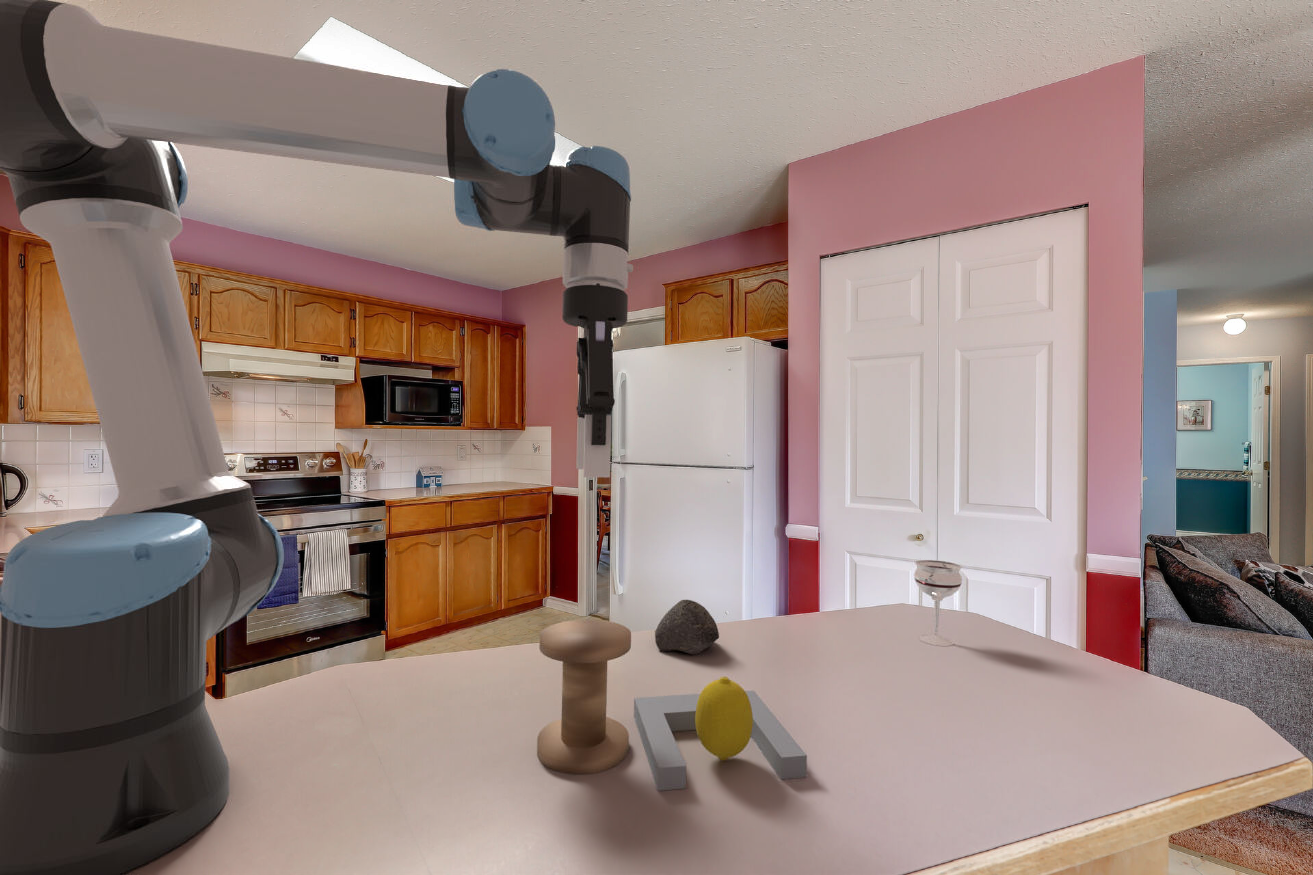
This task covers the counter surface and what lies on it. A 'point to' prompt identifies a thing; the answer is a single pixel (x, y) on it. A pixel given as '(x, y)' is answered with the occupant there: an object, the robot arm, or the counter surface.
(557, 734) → the bobbin
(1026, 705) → the counter surface
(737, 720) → the lemon
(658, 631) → the stone
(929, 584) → the wineglass
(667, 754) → the notch board
